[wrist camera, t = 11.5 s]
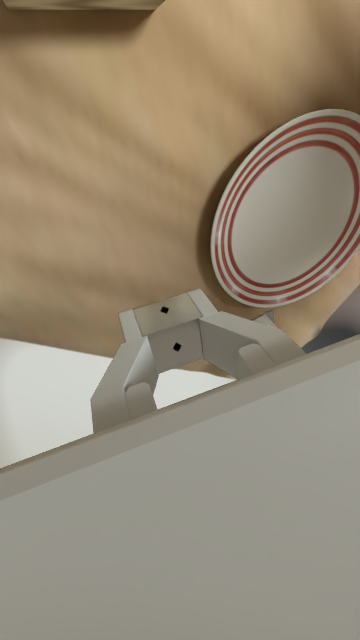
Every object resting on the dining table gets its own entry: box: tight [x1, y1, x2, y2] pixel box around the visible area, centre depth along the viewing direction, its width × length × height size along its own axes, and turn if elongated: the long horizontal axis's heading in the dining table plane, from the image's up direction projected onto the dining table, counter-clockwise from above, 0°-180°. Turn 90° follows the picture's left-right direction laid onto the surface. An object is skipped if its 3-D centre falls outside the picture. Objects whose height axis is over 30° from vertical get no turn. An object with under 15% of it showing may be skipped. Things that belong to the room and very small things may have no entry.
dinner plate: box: [210, 109, 360, 308], centre depth 41 cm, size 28×27×3 cm
